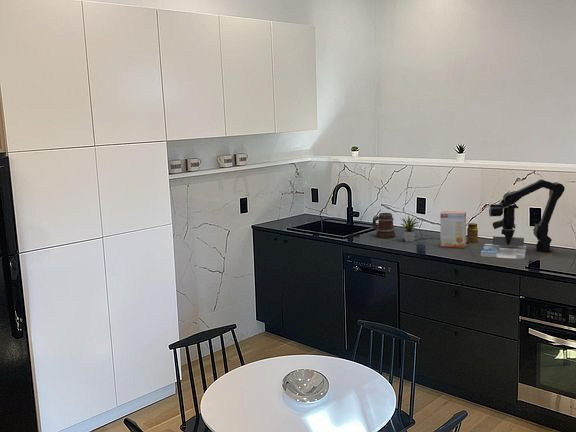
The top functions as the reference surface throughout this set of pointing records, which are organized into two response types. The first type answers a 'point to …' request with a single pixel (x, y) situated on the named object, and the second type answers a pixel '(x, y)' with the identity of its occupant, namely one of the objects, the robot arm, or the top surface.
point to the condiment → (472, 233)
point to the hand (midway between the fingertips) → (508, 243)
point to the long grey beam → (514, 241)
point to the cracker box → (453, 229)
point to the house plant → (409, 229)
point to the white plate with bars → (503, 252)
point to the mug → (384, 225)
